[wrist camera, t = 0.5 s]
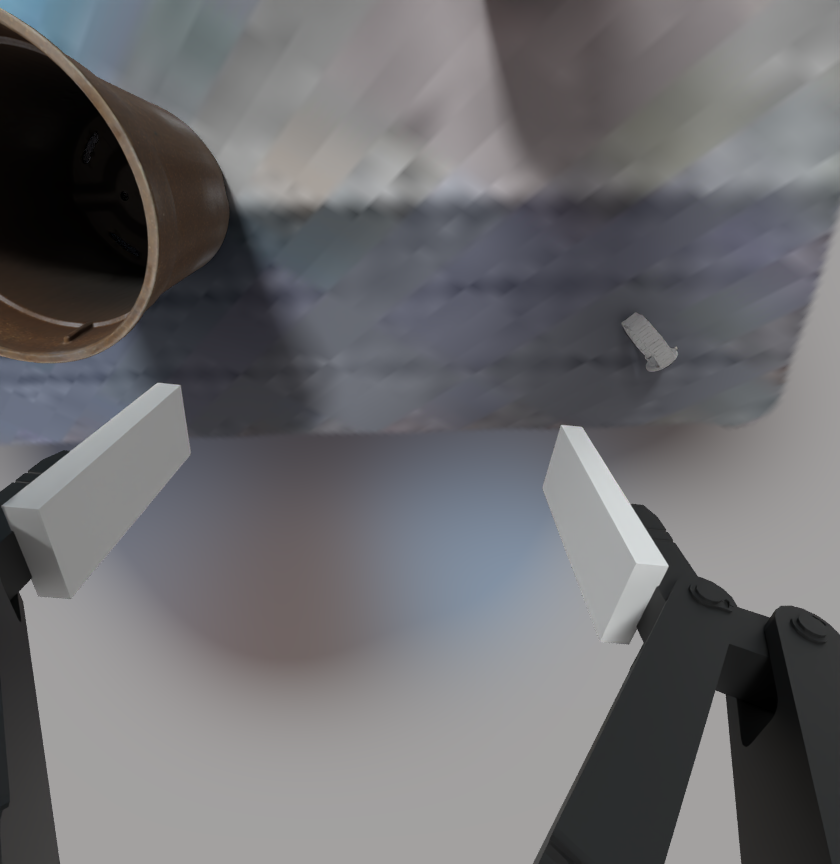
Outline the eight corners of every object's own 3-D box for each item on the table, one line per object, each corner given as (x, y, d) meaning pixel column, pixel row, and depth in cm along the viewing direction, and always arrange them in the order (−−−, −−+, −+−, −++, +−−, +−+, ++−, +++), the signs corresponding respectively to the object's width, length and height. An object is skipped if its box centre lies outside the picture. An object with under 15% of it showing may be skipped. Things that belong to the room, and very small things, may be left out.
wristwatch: (636, 361, 43) (660, 382, 39) (607, 321, 41) (629, 339, 37) (665, 340, 42) (693, 360, 38) (636, 299, 40) (662, 315, 36)
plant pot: (68, 1, 31) (-230, -141, 17) (291, 152, 35) (201, 139, 21) (24, 227, 38) (-214, 260, 24) (215, 331, 42) (110, 412, 28)
